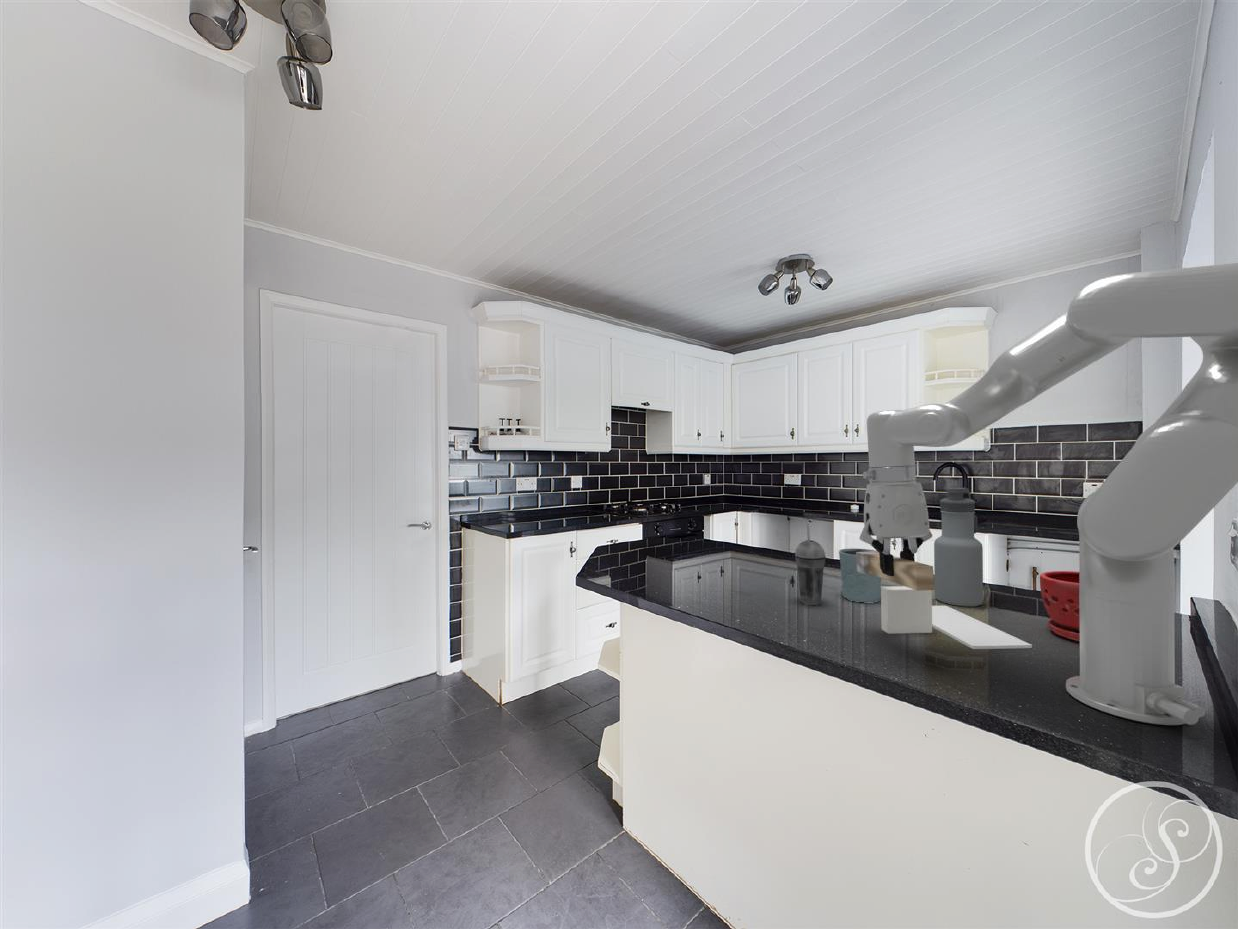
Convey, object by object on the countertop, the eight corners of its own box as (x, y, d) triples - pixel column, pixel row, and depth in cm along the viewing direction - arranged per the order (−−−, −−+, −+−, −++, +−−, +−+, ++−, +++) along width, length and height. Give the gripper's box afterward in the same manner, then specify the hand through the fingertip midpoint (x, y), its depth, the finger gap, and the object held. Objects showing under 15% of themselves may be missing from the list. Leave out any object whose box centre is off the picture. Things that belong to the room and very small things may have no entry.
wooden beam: (940, 589, 82) (939, 566, 83) (911, 591, 82) (909, 567, 83) (881, 570, 101) (879, 551, 102) (857, 571, 101) (856, 552, 102)
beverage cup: (831, 602, 121) (830, 522, 120) (820, 609, 115) (818, 525, 115) (802, 596, 126) (801, 520, 125) (790, 603, 120) (789, 523, 120)
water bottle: (941, 593, 126) (940, 486, 126) (987, 600, 119) (986, 487, 119) (929, 601, 119) (928, 488, 119) (977, 610, 112) (976, 489, 112)
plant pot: (1102, 628, 100) (1101, 570, 100) (1152, 653, 87) (1152, 587, 87) (1026, 623, 103) (1026, 567, 103) (1064, 647, 91) (1064, 583, 90)
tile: (932, 632, 99) (931, 589, 99) (888, 633, 99) (887, 590, 99) (924, 628, 102) (923, 585, 101) (881, 629, 102) (880, 586, 101)
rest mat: (1032, 648, 90) (1032, 645, 90) (973, 649, 90) (973, 646, 90) (945, 608, 114) (945, 605, 114) (899, 609, 114) (899, 606, 114)
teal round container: (845, 603, 119) (845, 555, 119) (834, 592, 129) (834, 547, 129) (890, 605, 118) (889, 555, 117) (875, 593, 127) (874, 548, 127)
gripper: (858, 478, 87) (864, 581, 87) (949, 474, 87) (955, 576, 87) (839, 478, 95) (845, 572, 95) (923, 474, 95) (928, 568, 95)
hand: (897, 573), depth 91 cm, fingers closed on wooden beam, 3 cm apart
